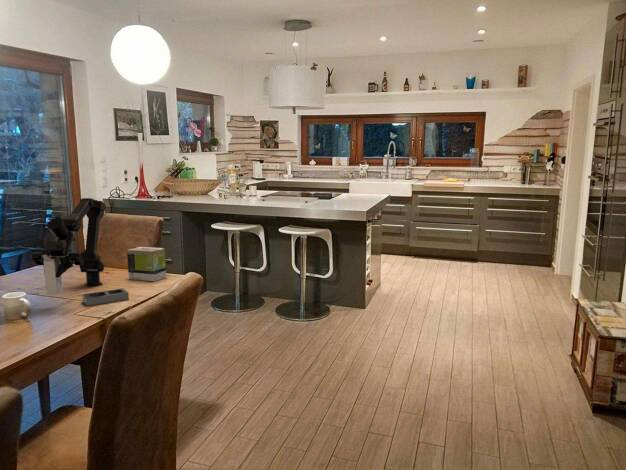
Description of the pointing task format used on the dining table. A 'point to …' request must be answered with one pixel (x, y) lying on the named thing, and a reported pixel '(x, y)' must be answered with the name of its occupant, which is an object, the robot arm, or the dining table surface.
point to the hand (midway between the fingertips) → (51, 277)
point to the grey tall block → (52, 275)
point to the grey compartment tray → (105, 297)
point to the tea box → (146, 263)
